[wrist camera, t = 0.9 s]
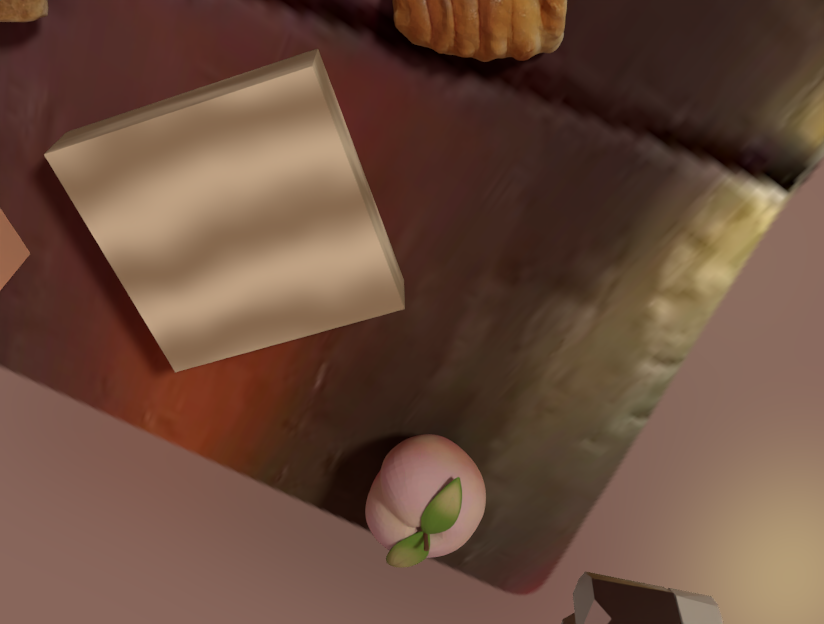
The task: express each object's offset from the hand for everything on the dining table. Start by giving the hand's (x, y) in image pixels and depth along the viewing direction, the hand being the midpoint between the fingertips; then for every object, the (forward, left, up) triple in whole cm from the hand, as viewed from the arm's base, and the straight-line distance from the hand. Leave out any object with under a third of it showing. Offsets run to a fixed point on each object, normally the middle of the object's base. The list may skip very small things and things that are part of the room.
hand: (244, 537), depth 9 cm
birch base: (+11, -11, -39) cm, 42 cm away
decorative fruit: (+34, -6, -39) cm, 52 cm away
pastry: (+3, +7, -39) cm, 40 cm away
